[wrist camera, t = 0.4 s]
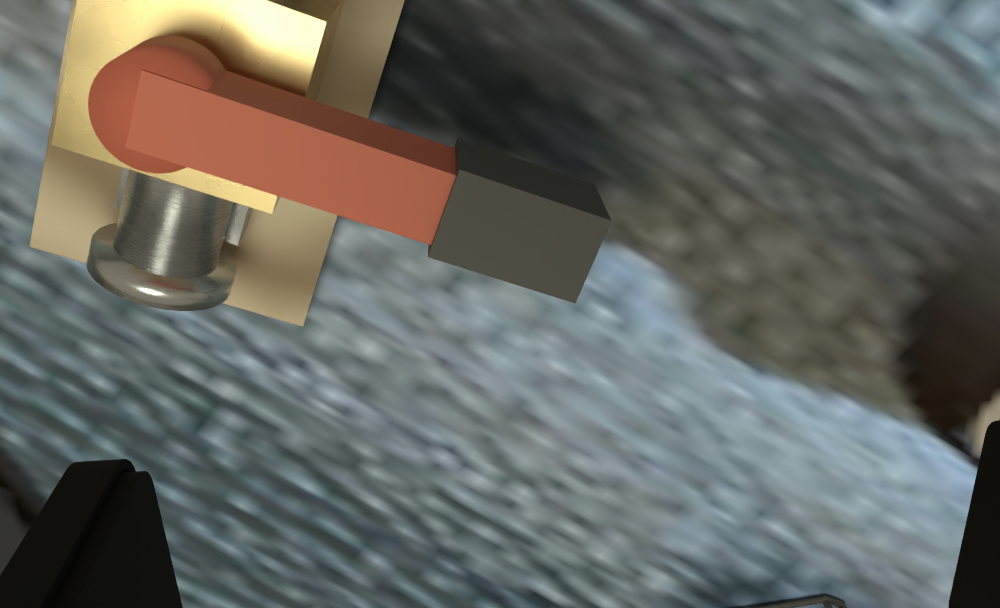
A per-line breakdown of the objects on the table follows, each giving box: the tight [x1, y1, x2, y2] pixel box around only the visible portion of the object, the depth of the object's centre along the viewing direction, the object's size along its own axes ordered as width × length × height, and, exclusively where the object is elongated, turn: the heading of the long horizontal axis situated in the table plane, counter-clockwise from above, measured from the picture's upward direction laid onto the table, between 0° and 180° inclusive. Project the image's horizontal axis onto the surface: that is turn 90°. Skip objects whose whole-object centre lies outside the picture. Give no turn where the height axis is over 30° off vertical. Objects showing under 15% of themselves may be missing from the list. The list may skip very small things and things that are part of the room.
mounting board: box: [30, 0, 405, 326], centre depth 38 cm, size 22×12×2 cm, turn 160°
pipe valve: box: [51, 0, 345, 311], centre depth 35 cm, size 18×8×8 cm, turn 160°
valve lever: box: [88, 35, 611, 303], centre depth 30 cm, size 16×4×4 cm, turn 70°
